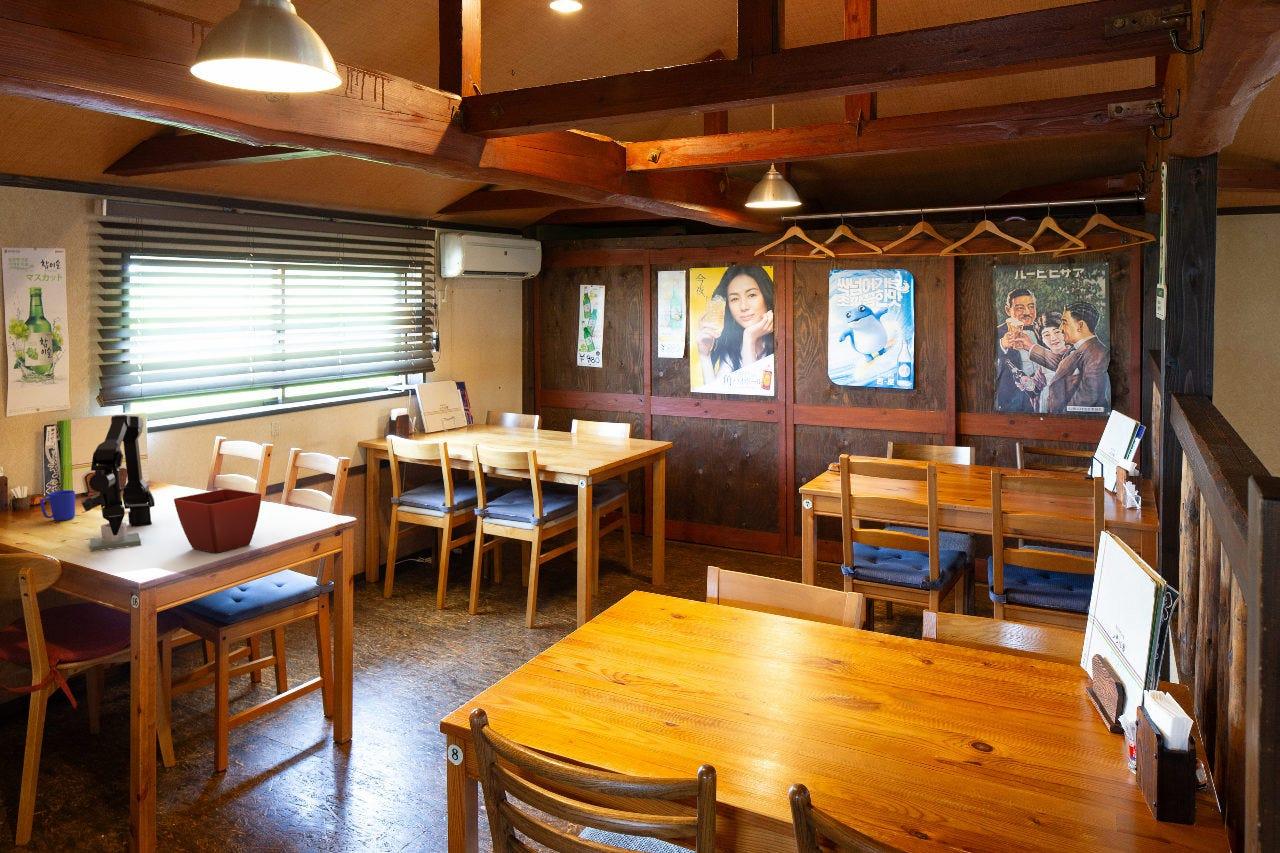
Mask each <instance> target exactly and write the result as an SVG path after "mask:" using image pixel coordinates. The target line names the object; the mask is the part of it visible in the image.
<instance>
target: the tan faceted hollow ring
mask: <svg viewBox="0 0 1280 853" xmlns="http://www.w3.org/2000/svg"><path fill="white" fill-rule="evenodd" d="M109 525H110V524H109V522H108V523H105V524H104V523H103V524H101V525H100V531H101V533H100V534H101V537H102V542H106V543H111V542H119V541H124V540H126V539H128V537H127V534H128V529H127V527H128V526H127V522H124V521H122V523H121V526H120V528H119V531H118V534H117V535H113V533H112V530H111V527H109Z"/></svg>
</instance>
